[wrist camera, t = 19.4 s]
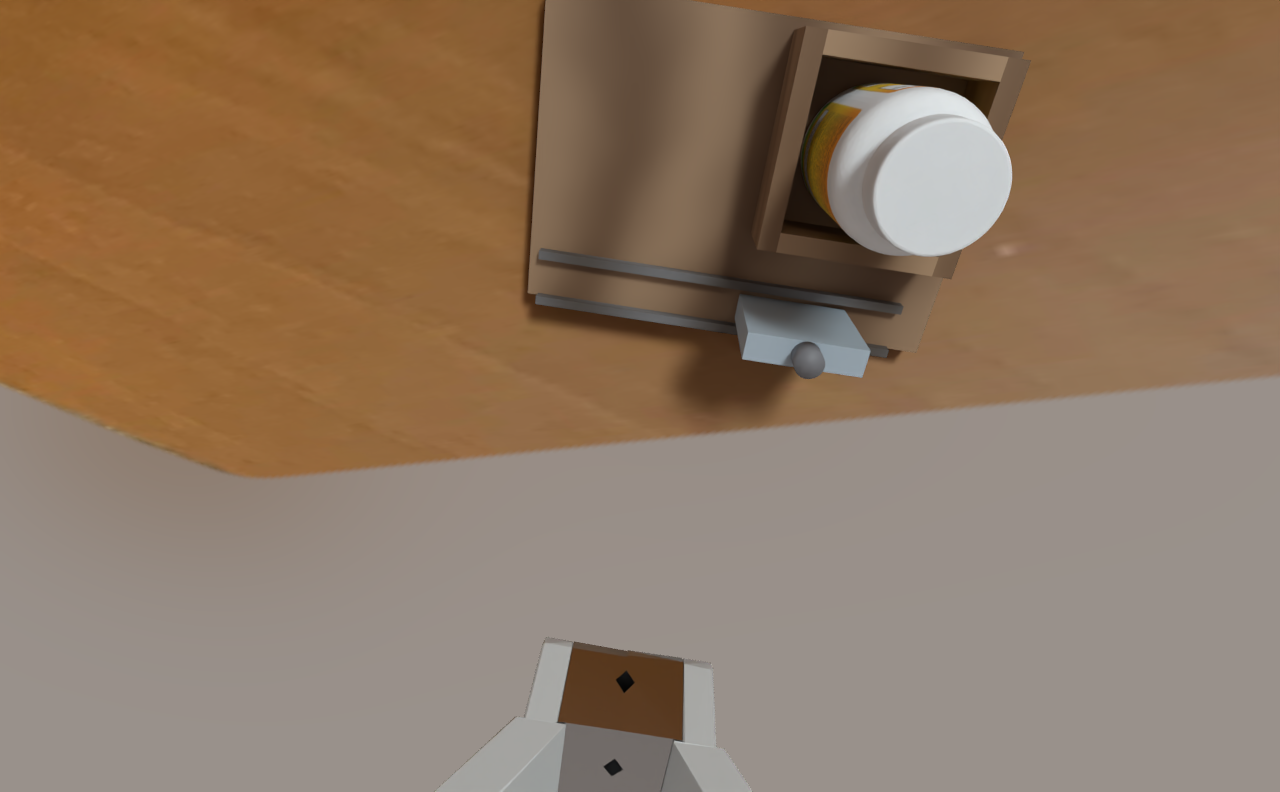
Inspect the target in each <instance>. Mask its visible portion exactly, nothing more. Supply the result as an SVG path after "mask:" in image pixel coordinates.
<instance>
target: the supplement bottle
mask: <svg viewBox="0 0 1280 792" xmlns="http://www.w3.org/2000/svg"><path fill="white" fill-rule="evenodd" d="M801 171H802V176H803V179H804V182H805V185H806V187H807V189H808V191H809V193H810V194H811V196H812V197H813V199H814V200H815V201H816V203H817V204H818V205H819V206H820V207H821V208H822V209H823V210H824V211H825V212H826V213H827V214H828V215H829V216H830V217H831V218H832V219H833V220H834V221H835V222H836V223H837V224H838V225H839V226H840V227H841V228H842V230H843V231H844V232H845V233H846V234H847V235H848V236H850V237H851V238H852V239H854V240H855V241H856V242H858V243H859V244H860V245H862V246H864V247H866V248H867V249H870V250H872V251H875V252H878V253H881V254H886V255H893V256H910V255H915V256H923V257H934V256H942V255H946V254H950V253H953V252H956V251H958V250H961V249H963V248H965V247H967V246H969V245H970V244H972V243H973V242H975V241H976V240H977V239H979V238H980V237H981V236H982V235H983V234H985V233H986V232H987V231H988V230H989V229H990V227H991V226H992V225H993V224H994V223H995V221H996V220H997V219H998V217H999V216H1000V214H1001V212H1002V210H1003V209H1004V206H1005V204H1006V202H1007V199H1008V196H1009V193H1010V189H1011V183H1012V167H1011V161H1010V157H1009V154H1008V151H1007V149H1006V147H1005V145H1004V143H1003V142H1002V140H1001V139H1000V138H999V137H998V136H997V135H996V133H995V132H994V131H993V129H992V127H991V125H990V124H989V122H988V120H987V119H986V117H985V116H984V114H983V113H982V112H981V111H980V110H979V109H978V108H977V107H976V106H975V105H974V104H973V103H971V102H970V101H969V100H967V99H966V98H964V97H962V96H960V95H958V94H956V93H954V92H951V91H947V90H944V89H940V88H935V87H925V86H913V85H901V84H891V83H869V84H862V85H858V86H855V87H852V88H849V89H847V90H845V91H843V92H841V93H839V94H838V95H836V96H835V97H834V98H832V99H831V100H830V101H829V102H827V103H826V104H825V105H824V106H823V107H822V108H821V110H820V111H819V112H818V113H817V115H816V116H815V117H814V119H813V120H812V122H811V124H810V126H809V128H808V130H807V132H806V134H805V137H804V140H803V144H802V149H801Z"/></svg>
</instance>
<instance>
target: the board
mask: <svg viewBox="0 0 1280 792" xmlns="http://www.w3.org/2000/svg"><path fill="white" fill-rule="evenodd" d="M1023 54H1024V52H1020V51H1014V50H1007V49H1001V48H994V47H988V46H982V45H975V44H969V43H962V42H956V41H949V40H943V39H936V38H930V37H923V36H917V35H910V34H904V33H897V32H891V31H884V30H878V29H872V28H865V27H859V26H852V25H846V24H839V23H833V22H826V21H820V20H813V19H807V18H800V17H794V16H787V15H781V14H775V13H768V12H762V11H755V10H749V9H742V8H736V7H729V6H723V5H716V4H710V3H703V2H697V1H690V0H546V2H545V19H544V35H543V51H542V68H541V84H540V100H539V117H538V133H537V149H536V165H535V182H534V198H533V214H532V231H531V247H530V263H529V280H528V293H530V294H536V302H535V304H539V305H545V306H552V307H559V308H565V309H572V310H578V311H585V312H591V313H598V314H604V315H611V316H617V317H624V318H630V319H637V320H643V321H650V322H656V323H663V324H669V325H676V326H682V327H689V328H695V329H702V330H708V331H715V332H721V333H728V334H734V335H738V334H737V329H736V323H735V313H736V308H737V304H738V299H739V295H740V294H744V295H751V296H757V297H764V298H770V299H777V300H783V301H790V302H796V303H803V304H809V305H816V306H822V307H829V308H835V309H842V310H845V311H846V313H847V315H848V316H849V318H850V319H851V321H852V322H853V324H854V325H855V327H856V329H857V330H858V332H859V333H860V335H861V336H862V338H863V340H864V341H865V343H866V344H867V346H868V347H869V349H870V351H871V352H870V355H871V356H878V357H884V358H887V355H888V352H889V350H888V349H895V350H901V351H908V352H914V353H916V352H917V349H918V346H919V344H920V341H921V338H922V335H923V332H924V330H925V327H926V324H927V321H928V319H929V316H930V313H931V310H932V307H933V305H934V302H935V299H936V296H937V293H938V291H939V288H940V285H941V282H942V280H943V278H946V279H951V278H952V276H953V273H954V270H955V268H956V265H957V262H958V259H959V257H960V254H961V251H962V249H961V250H958V251H956V252H953V253H950V254H946V255H942V256H934V257H923V256H915V255H910V256H893V255H886V254H881V253H878V252H875V251H872V250H870V249H867V248H866V247H864V246H862V245H860V244H859V243H858V242H856V241H855V240H854V239H852V238H851V237H850V236H848V235H847V234H846V233H845V232H844V231H843V230H842V228H841V227H840V226H839V225H838V224H837V223H836V222H835V221H834V220H833V219H832V218H831V217H830V216H829V215H828V214H827V213H826V212H825V211H824V210H823V209H822V208H821V207H820V206H819V205H818V204H817V203H816V201H815V200H814V199H813V197H812V196H811V194H810V193H809V191H808V189H807V187H806V185H805V182H804V179H803V176H802V171H801V149H802V144H803V140H804V137H805V134H806V132H807V130H808V128H809V126H810V124H811V122H812V120H813V119H814V117H815V116H816V115H817V113H818V112H819V111H820V110H821V108H822V107H823V106H824V105H825V104H826V103H827V102H829V101H830V100H831V99H832V98H834V97H835V96H836V95H838V94H839V93H841V92H843V91H845V90H847V89H849V88H852V87H855V86H858V85H862V84H869V83H891V84H901V85H913V86H925V87H935V88H940V89H944V90H947V91H951V92H954V93H956V94H958V95H960V96H962V97H964V98H966V99H967V100H969V101H970V102H971V103H973V104H974V105H975V106H976V107H977V108H978V109H979V110H980V111H981V112H982V113H983V114H984V116H985V117H986V119H987V120H988V122H989V124H990V125H991V127H992V129H993V131H994V132H995V133H996V135H997V136H998V137H999V138H1000V139H1001V140H1002V139H1003V136H1004V133H1005V131H1006V128H1007V125H1008V122H1009V120H1010V117H1011V114H1012V111H1013V109H1014V106H1015V103H1016V100H1017V98H1018V95H1019V92H1020V89H1021V87H1022V84H1023V81H1024V79H1025V76H1026V73H1027V70H1028V68H1029V65H1030V62H1031V60H1024V59H1022V57H1023Z"/></svg>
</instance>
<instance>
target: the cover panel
mask: <svg viewBox="0 0 1280 792" xmlns="http://www.w3.org/2000/svg"><path fill="white" fill-rule="evenodd" d="M735 323H736V329H737V334H738V340H739V345H740V351H741V356H742V359H744V360H751V361H757V362H764V363H770V364H777V365H783V366H790V367H794V369H795V371H796V373H797V374H798V375H799V376H800V377H802V378H805V379H812V378H815V377H817V376H819V375H820V374H821V373H822V372H829V373H835V374H842V375H848V376H855V377H861V378H862V376H863V373H864V370H865V367H866V364H867V361H868V358H869V355H870V352H871V351H870V349H869V347H868V346H867V344H866V343H865V341H864V340H863V338H862V336H861V335H860V333H859V332H858V330H857V329H856V327H855V325H854V324H853V322H852V321H851V319H850V318H849V316H848V315H847V313H846V311H845V310H842V309H835V308H829V307H822V306H816V305H809V304H803V303H796V302H790V301H783V300H777V299H770V298H764V297H757V296H751V295H744V294H740V295H739V299H738V304H737V308H736V313H735Z"/></svg>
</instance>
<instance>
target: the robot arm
mask: <svg viewBox="0 0 1280 792" xmlns="http://www.w3.org/2000/svg"><path fill="white" fill-rule="evenodd" d="M714 709H715V708H714V686H713V667H712V665H711V663H709V662H703V661H696V660H690V659H682V658H678V657H672V656H664V655H657V654H650V653H643V652H635V651H624V650H618V649H612V648H607V647H601V646H596V645H590V644H585V643H579V642H574V643H573V642H572V641H566V640H560V639H554V638H549V637H546V638H545V640H544V642H543V644H542V648H541V652H540V656H539V660H538V664H537V668H536V672H535V676H534V680H533V683H532V687H531V691H530V695H529V699H528V703H527V707H526V711H525V715H524V718H522V717H514V718H513V719H512V720H511V721H510V722H509V723H508V724H507V725H506V726H505V727H504V728H503V729H501V730H500V731H499V732H498V733H497V734H496V735H495V736H494V737H493V738H492V739H491V740H489V741H488V742H487V743H486V744H485V745H484V746H483V747H482V748H481V749H480V750H479V751H478V752H476V753H475V754H474V755H473V756H472V757H471V758H470V759H469V760H468V761H467V762H466V763H465V764H464V765H462V766H461V767H460V768H459V769H458V770H457V771H456V772H455V773H454V774H453V775H452V776H451V777H449V778H448V779H447V780H446V781H445V782H444V783H443V784H442V785H441V786H440V787H438V788H437V790H435V791H434V792H753V791H752V790H751V788H750V787H749V785H748V784H747V782H746V781H745V779H744V777H743V776H742V774H741V773H740V771H739V770H738V768H737V767H736V765H735V764H734V762H733V761H732V759H731V758H730V756H729V755H728V753H727V752H726V750H725V749H723V748H718V747H716V732H715V711H714Z"/></svg>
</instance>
